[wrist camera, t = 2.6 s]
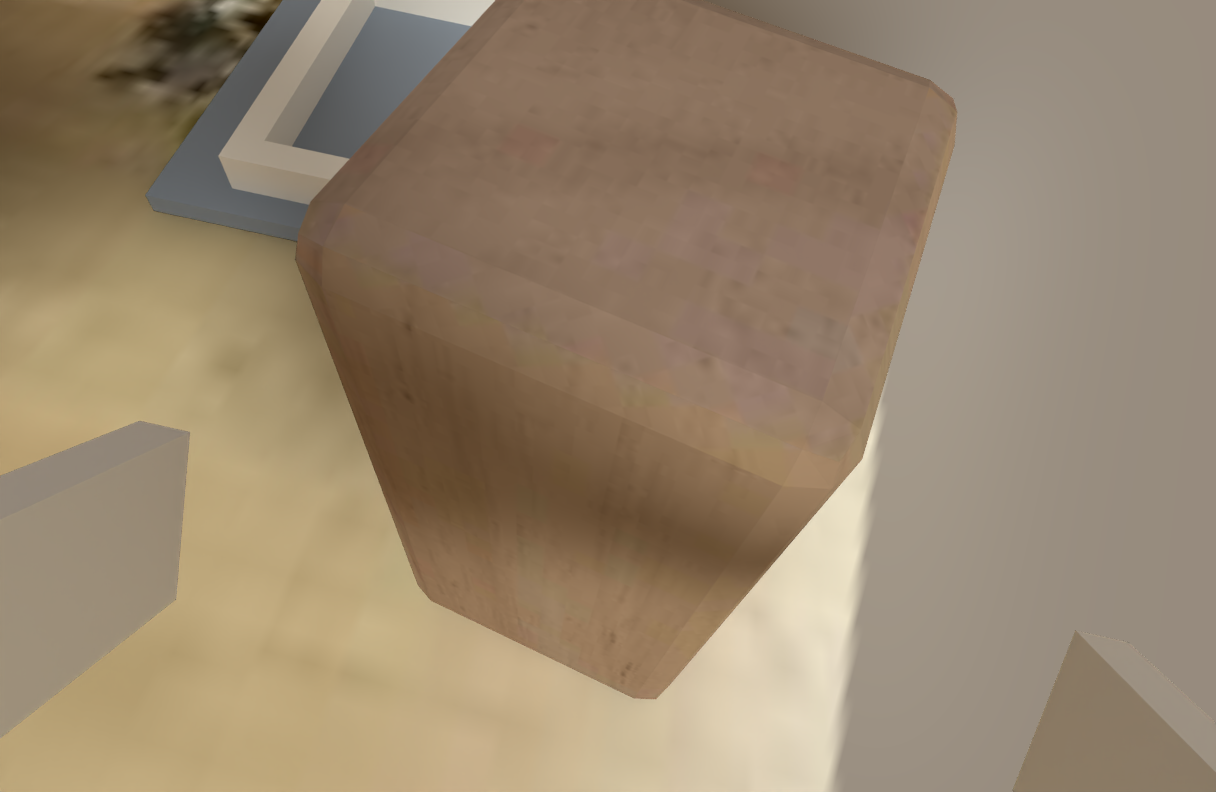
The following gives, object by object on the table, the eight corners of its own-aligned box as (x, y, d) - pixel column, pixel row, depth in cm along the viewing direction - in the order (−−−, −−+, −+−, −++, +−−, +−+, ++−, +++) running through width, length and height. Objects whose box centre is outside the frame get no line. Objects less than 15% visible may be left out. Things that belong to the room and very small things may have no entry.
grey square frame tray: (153, 210, 37) (126, 162, 35) (314, -24, 48) (302, -75, 45) (646, 316, 37) (656, 275, 34) (700, 57, 47) (711, 10, 45)
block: (530, 391, 34) (540, -79, 17) (744, 484, 33) (987, 75, 16) (409, 596, 29) (251, 221, 12) (656, 715, 28) (871, 486, 11)
